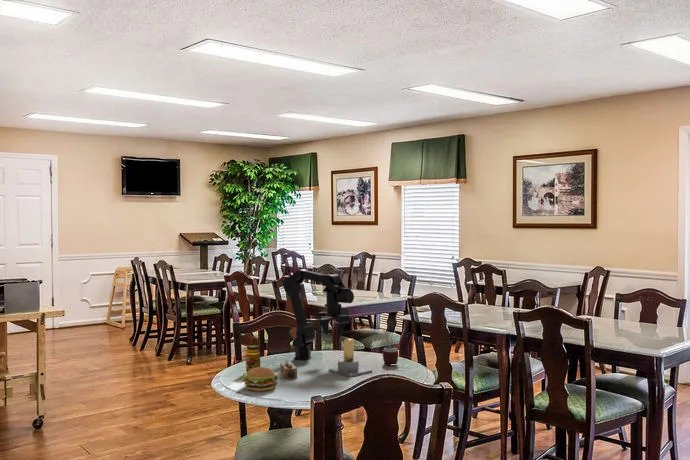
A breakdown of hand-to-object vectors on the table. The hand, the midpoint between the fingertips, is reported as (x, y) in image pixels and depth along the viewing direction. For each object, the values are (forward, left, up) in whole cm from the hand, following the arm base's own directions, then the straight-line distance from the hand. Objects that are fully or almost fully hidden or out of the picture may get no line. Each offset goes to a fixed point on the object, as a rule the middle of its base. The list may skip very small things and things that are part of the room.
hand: (333, 335), depth 297 cm
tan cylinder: (+12, -9, -12) cm, 19 cm away
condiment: (-24, -30, -13) cm, 41 cm away
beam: (-9, -26, -13) cm, 31 cm away
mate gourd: (+24, +10, -13) cm, 29 cm away
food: (-9, -49, -13) cm, 51 cm away
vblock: (+12, -9, -13) cm, 20 cm away
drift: (-9, -26, -9) cm, 29 cm away
